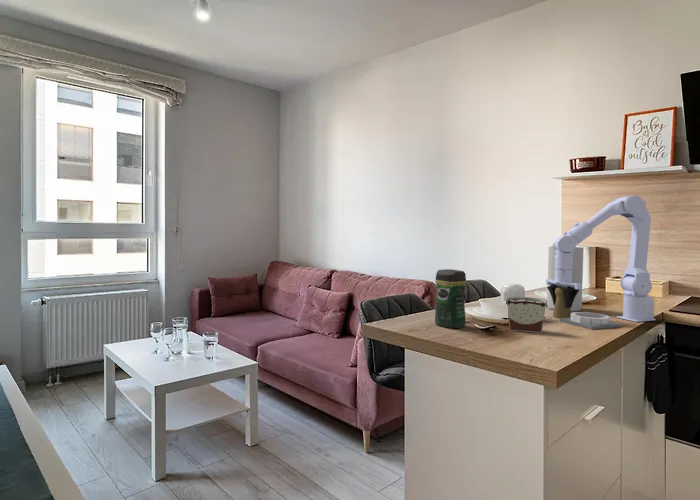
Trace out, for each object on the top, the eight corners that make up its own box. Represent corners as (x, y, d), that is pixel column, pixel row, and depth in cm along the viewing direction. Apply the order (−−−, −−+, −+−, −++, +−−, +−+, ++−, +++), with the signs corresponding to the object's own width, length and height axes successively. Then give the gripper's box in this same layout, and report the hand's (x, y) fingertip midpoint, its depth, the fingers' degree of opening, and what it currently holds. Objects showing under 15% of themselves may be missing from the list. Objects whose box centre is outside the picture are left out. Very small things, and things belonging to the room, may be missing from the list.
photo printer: (515, 315, 164) (516, 282, 163) (526, 317, 160) (526, 283, 160) (497, 318, 158) (498, 283, 158) (508, 320, 155) (508, 285, 154)
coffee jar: (469, 326, 143) (470, 270, 142) (453, 330, 139) (454, 271, 138) (446, 321, 151) (447, 267, 150) (430, 324, 147) (431, 268, 146)
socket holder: (588, 319, 157) (588, 310, 157) (621, 326, 145) (621, 317, 145) (559, 321, 153) (560, 312, 153) (591, 329, 141) (591, 320, 141)
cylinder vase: (587, 312, 171) (589, 247, 170) (555, 311, 171) (557, 247, 170) (572, 306, 184) (573, 246, 182) (541, 306, 184) (543, 246, 183)
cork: (549, 315, 163) (550, 286, 163) (565, 315, 164) (566, 286, 163) (558, 319, 157) (559, 288, 157) (574, 318, 158) (575, 288, 157)
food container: (545, 329, 141) (546, 298, 141) (547, 333, 135) (548, 300, 135) (504, 326, 145) (505, 295, 145) (504, 329, 139) (505, 298, 139)
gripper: (539, 267, 165) (538, 303, 166) (570, 271, 152) (569, 310, 152) (554, 267, 168) (553, 302, 168) (586, 270, 154) (585, 309, 154)
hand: (562, 306), depth 160 cm, fingers closed on cork, 5 cm apart
